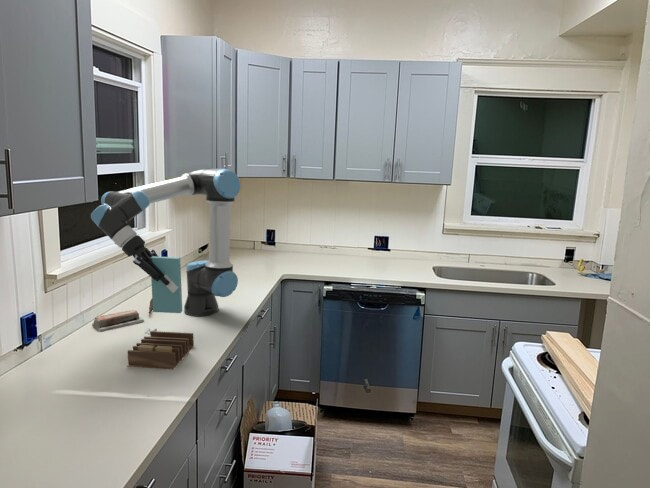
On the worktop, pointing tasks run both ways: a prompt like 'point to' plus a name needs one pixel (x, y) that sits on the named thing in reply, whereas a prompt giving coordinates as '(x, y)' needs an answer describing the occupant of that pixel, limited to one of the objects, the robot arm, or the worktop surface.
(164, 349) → the offcut
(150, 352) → the rack
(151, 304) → the wood plank
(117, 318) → the packaged product
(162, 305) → the tall board
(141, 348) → the offcut
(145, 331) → the pliers
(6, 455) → the worktop surface
